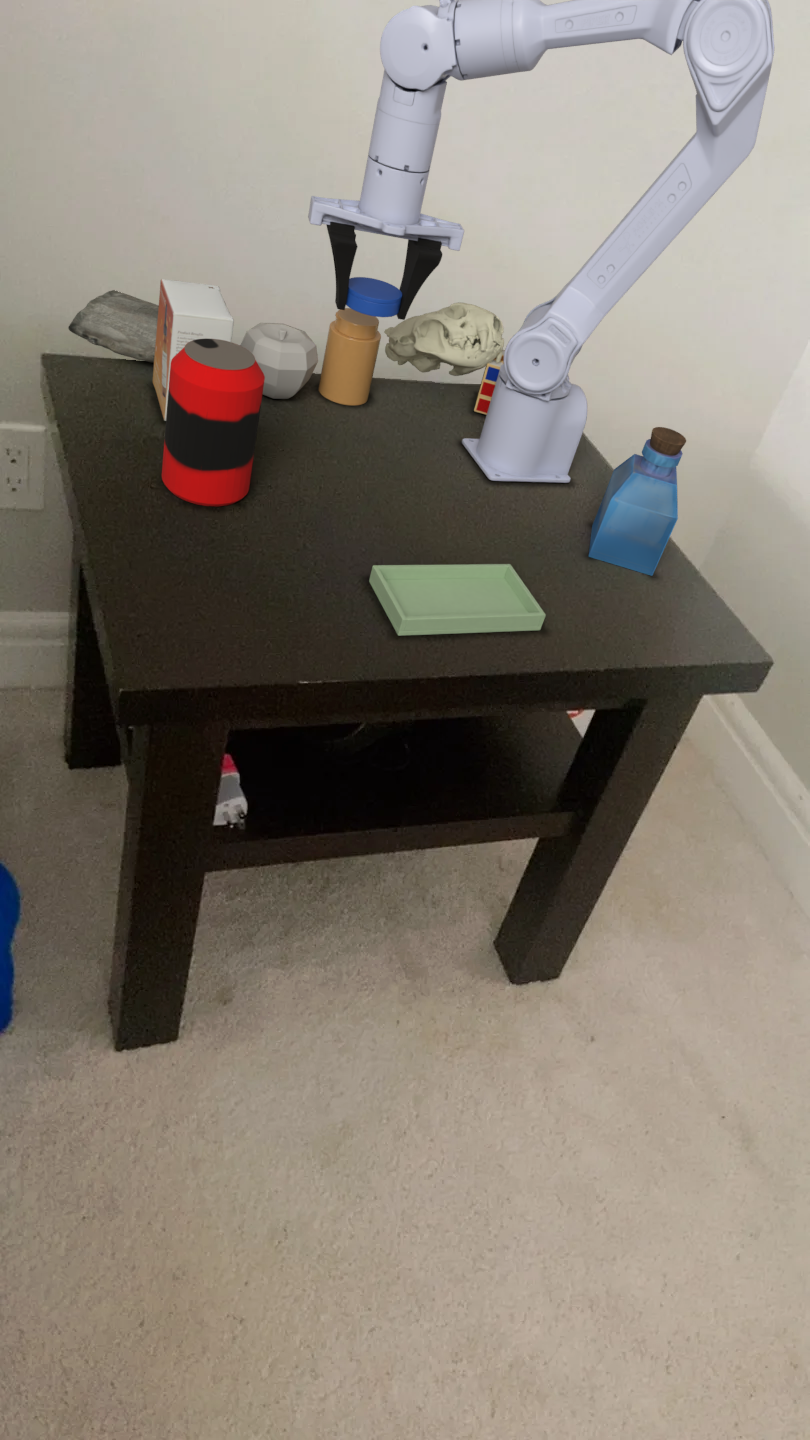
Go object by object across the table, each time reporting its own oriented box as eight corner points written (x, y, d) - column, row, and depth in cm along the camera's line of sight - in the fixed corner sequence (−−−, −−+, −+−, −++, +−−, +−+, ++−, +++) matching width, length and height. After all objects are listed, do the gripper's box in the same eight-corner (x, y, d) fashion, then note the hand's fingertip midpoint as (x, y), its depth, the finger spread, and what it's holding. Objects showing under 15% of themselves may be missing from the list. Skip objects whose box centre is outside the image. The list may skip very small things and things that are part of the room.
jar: (356, 382, 115) (371, 307, 110) (375, 406, 112) (392, 329, 107) (311, 381, 113) (324, 304, 108) (329, 405, 110) (343, 326, 104)
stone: (243, 358, 113) (118, 321, 115) (246, 320, 111) (119, 284, 113) (196, 386, 104) (63, 347, 107) (198, 346, 102) (62, 307, 104)
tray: (505, 579, 91) (510, 563, 90) (540, 630, 87) (546, 614, 86) (368, 581, 86) (372, 565, 85) (397, 635, 82) (402, 619, 81)
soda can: (216, 457, 96) (231, 329, 88) (265, 498, 93) (285, 369, 85) (144, 471, 91) (153, 338, 84) (193, 515, 88) (207, 380, 80)
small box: (151, 383, 104) (159, 276, 98) (208, 387, 106) (219, 283, 100) (162, 422, 99) (171, 312, 92) (221, 426, 101) (234, 318, 94)
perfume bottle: (652, 575, 98) (703, 460, 90) (588, 556, 98) (634, 439, 90) (652, 544, 102) (702, 431, 95) (592, 525, 102) (636, 412, 95)
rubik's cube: (521, 424, 116) (536, 377, 113) (473, 411, 116) (487, 363, 113) (524, 405, 121) (538, 359, 117) (478, 392, 120) (491, 346, 117)
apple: (327, 401, 110) (338, 340, 105) (272, 415, 104) (281, 352, 100) (275, 369, 113) (284, 308, 109) (219, 381, 108) (226, 318, 103)
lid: (337, 307, 101) (340, 289, 100) (346, 289, 105) (349, 272, 104) (394, 322, 101) (398, 304, 100) (402, 303, 106) (405, 286, 105)
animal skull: (366, 377, 118) (370, 309, 118) (417, 400, 125) (421, 335, 125) (471, 350, 108) (475, 275, 108) (520, 376, 115) (525, 306, 115)
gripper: (325, 159, 90) (300, 315, 99) (484, 190, 94) (447, 338, 103) (316, 137, 95) (294, 287, 104) (467, 168, 99) (434, 310, 108)
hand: (369, 310), depth 104 cm, fingers closed on lid, 5 cm apart
